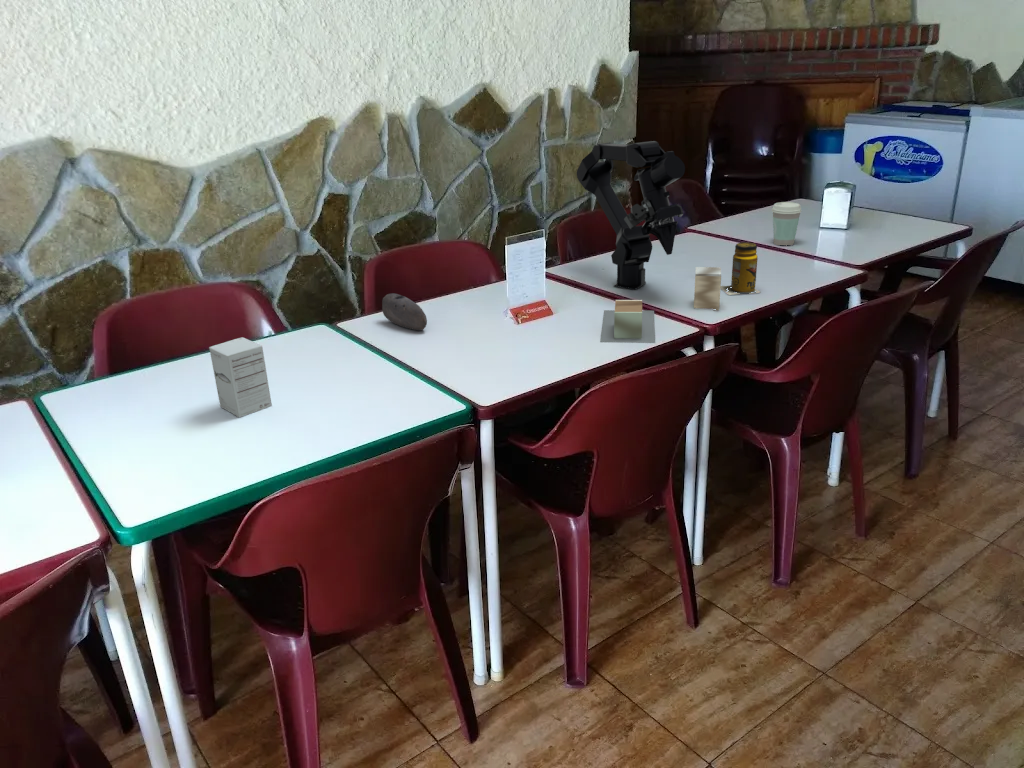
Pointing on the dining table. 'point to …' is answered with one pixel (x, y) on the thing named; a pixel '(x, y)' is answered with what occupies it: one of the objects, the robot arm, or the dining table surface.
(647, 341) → the mat
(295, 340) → the dining table surface
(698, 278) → the beech block
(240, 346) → the supplement box
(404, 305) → the perforated stone tool
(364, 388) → the dining table surface
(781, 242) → the coffee cup
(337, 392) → the dining table surface
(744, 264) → the condiment
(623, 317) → the small carton
